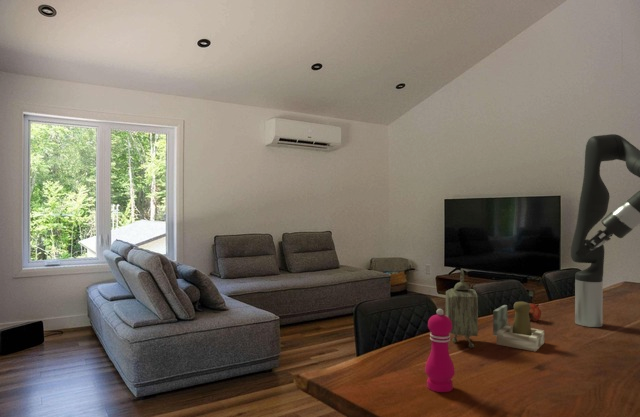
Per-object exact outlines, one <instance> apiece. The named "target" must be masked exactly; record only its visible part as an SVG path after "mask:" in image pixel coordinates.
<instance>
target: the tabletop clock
mask: <svg viewBox="0 0 640 417" xmlns="http://www.w3.org/2000/svg"><path fill="white" fill-rule="evenodd" d="M459 271H460V272H459V273H460V274H459V276H460V278H459V280H460V281H459V282H457V283H455V285H454V287H453V288H450V289H449V288H448V290H445V316H447V317H448V318H449V319H450V320H451V322H452V330H451V332H450V333H449V334H452V335H454V337H452V339H451V340H452V341H451V342H452V343H455V344H456V343H457V342H458V339H457V337H458V336H464V338H465V339H466V340H467V342H468V347H469V348H470V349H472V348H475V344H474V343H473V342H471V340H470V337H477V336H478V334H479V333H478V331H479V299H478V294H477V291H476V290H475V289H472V288H471V286H470V285H469V283H467V282H465V272H464V271H465V270H464V269H463V268H461V269H459Z"/></svg>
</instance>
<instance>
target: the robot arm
mask: <svg viewBox="0 0 640 417" xmlns="http://www.w3.org/2000/svg"><path fill="white" fill-rule="evenodd" d="M584 150H585V151H584V166H583V167H584V170H583V178H582V186H581V192H580V196H579V197H580V198H579V202H578V212H577V220H576V226H575V230H574V232H573V237H572V240H571V246H570V257H571V260H572V261H573V262H574V263H578V264H580V263H581V264H590V265H589V267H587V268H585V269H583V270H579V271H577V272H575V275H574V277H575V278H574V279H575V280H574V281H575V282H574V287H575V288H574V291H575V292H574V298H575V300H574V323H575V324H576V325H578V326H583V327H588V328H601V327H603V308H604V307H603V305H604V304H603V295H604V294H603V290H604V288H603V282H604V280H603V279H604V278H603V277H604V267H605V266H604V264H605V263H604V262H605V245H604V244H606V243H608V242H609V241H610V240H611V237H613V235H614V236H615V237H617V238H618V239H622V238H625V236H627V235H628V234H629V233H630V232H632V231H633V230H634V229H635V228H637V227H638V226H640V190H638V191H637V192H635V193H634V194H633V195H632V196H631V197H630V198H628V199H627V200H626V201H624V202H623V203H621V204H620V205H618V206H617V207H616V208H615V209H613V211H611V212H610V213H609V214H608V215H607V212H608V208H609V202H610V193H609V189H608V188H607V186H606V184H605V183H604V181H603V179H602V177H601V174H600V173H601V164H602V162H610V161H611V162H612V161H615V160H618V161H623V162H625V166H626V168H627V170H628V171H629V172H630V173H631V174H633V175H634V176H636V177H638V178H639V179H640V149H639V148H637V147H636V146H634V145H633V144H632V143H631V142H630V141H629V140H628V139H627V138H624V137H623V136H621V135H620V134H616V133H615V134H613V133H612V134H600V135H593V136H591V137H589V138H588V140H587V141H586V144H585V149H584ZM605 215H606V216H605ZM599 222H601V224H602V225H603V227H605V228H604V229H603V230H602V229H599V230H597V231H596V232H595V233H594V234H593V236H591V237H590V238H589V239H587V236H588V235H589V233H590V231H591V230H592V229H593V228H594V227H596V226H597V224H598V223H599Z"/></svg>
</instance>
